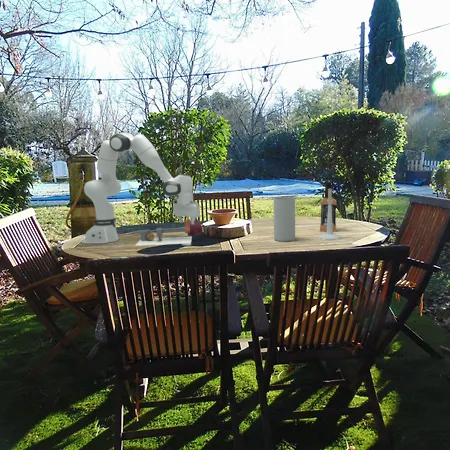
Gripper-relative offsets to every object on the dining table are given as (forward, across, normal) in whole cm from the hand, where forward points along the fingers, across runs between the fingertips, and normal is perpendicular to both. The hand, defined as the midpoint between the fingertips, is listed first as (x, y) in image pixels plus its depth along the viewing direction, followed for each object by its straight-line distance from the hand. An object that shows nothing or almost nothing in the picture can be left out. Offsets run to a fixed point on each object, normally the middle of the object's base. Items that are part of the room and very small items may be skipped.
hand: (186, 223), depth 242 cm
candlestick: (+10, -70, -50) cm, 87 cm away
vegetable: (+11, +11, -18) cm, 24 cm away
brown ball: (+10, +15, +17) cm, 24 cm away
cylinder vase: (+10, -50, -32) cm, 60 cm away
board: (+11, +7, +12) cm, 18 cm away
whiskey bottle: (+10, -58, -73) cm, 94 cm away
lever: (+6, +4, +8) cm, 11 cm away
